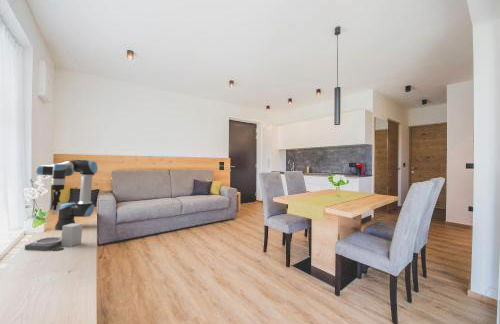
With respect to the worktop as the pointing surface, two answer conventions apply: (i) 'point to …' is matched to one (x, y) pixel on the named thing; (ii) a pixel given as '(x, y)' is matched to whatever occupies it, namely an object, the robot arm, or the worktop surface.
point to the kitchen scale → (44, 244)
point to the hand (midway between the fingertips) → (55, 212)
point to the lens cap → (58, 249)
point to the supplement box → (71, 234)
